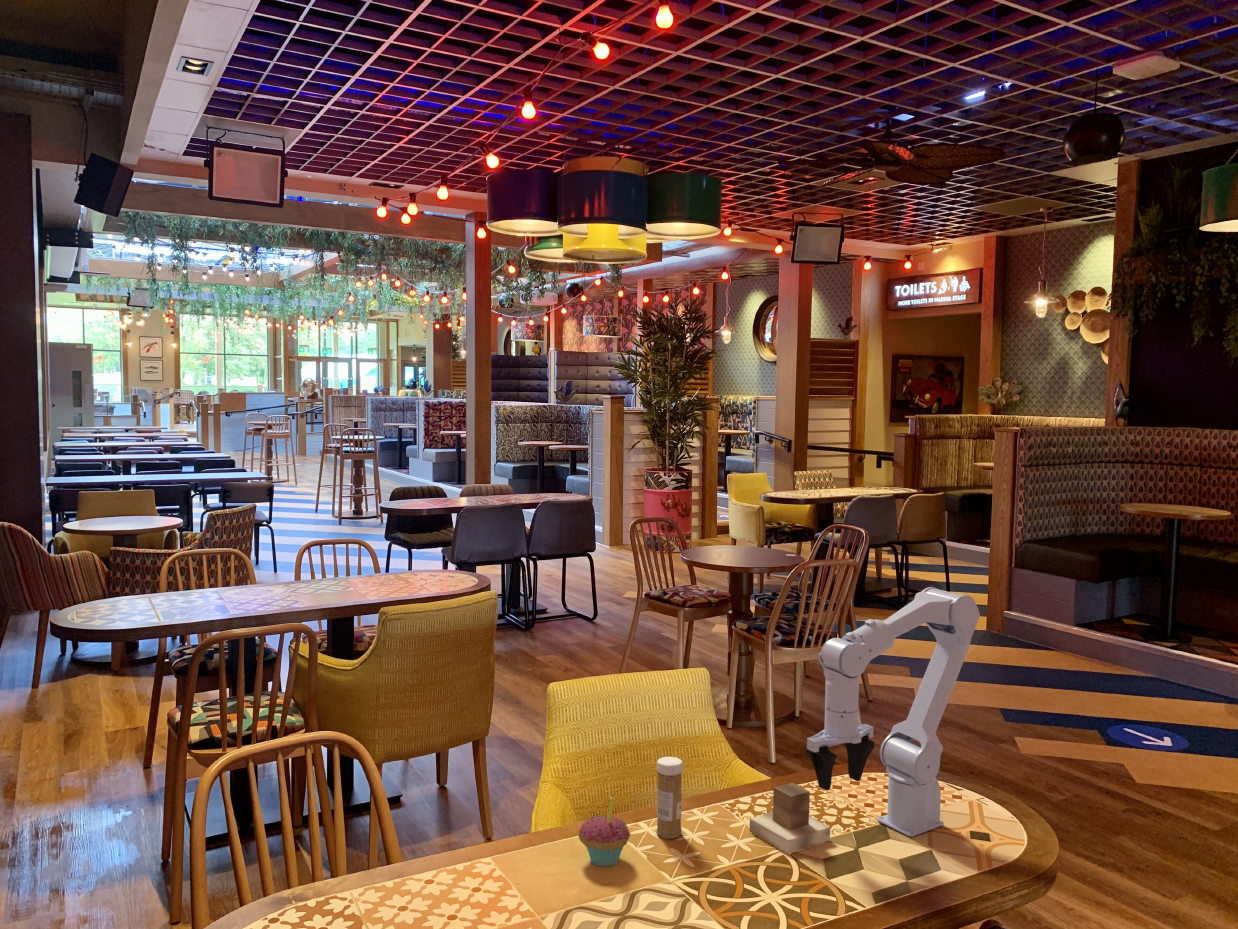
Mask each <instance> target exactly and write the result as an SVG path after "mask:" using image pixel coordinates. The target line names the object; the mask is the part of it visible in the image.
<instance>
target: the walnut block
mask: <svg viewBox="0 0 1238 929" xmlns="http://www.w3.org/2000/svg"><path fill="white" fill-rule="evenodd" d="M772 792H773V796H772V797H773V800H772V812H773V821H775V822H777V823H778V824H780V825H782V826H784V827H785V828H787V829H789V830H792V829H795V828H798V827H802V826H805V825H809V816H810V800H811V799H810V798H811V794H810V792H811V791H810V790H807V789H806V788H804V787H803V786H800V785H798V784H796V783H794V782H788V783H786V784H782V785H778V786H774V787H773V791H772Z"/></svg>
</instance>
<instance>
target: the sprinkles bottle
mask: <svg viewBox="0 0 1238 929" xmlns="http://www.w3.org/2000/svg"><path fill="white" fill-rule="evenodd" d="M683 767H684V765H683V761H682V759H680V758H679V757H676V756H675V757H674V756H663V757H660V758H659V759H657V762H656V771H657V790H656V791H657V793H656V816H657V824H656V825H657V828H656V834H657V835H658V836H659V837H660V838H663V839H668V840H671V839H676V838H679V837H681V835H682V833H683V832H682V774H683V770H684V769H683Z"/></svg>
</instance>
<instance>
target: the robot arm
mask: <svg viewBox="0 0 1238 929" xmlns="http://www.w3.org/2000/svg"><path fill="white" fill-rule="evenodd" d="M980 617H981V614H980V611H979V607H978V605H977V602H976V600H975V598H973V597H972V596H970V595H969V594H968V595H967V594H959V593H956V592H951V591H947V590H942V589H938V588H936V587H934V586H929V587H926V588H924V589H923V590H922V591H919V592H917V593H915V595H914V598H913V600H911V601H910V602H908V603H907V604H906V605H904V607H902V608H900V609H899V610H897V611H896V612H895V613H893V614H891V615H890V616H888V618H886V619H884V620H883V621H882V620H881V619H871V618H869V619H867V620H864V624H863V625H862V626H860V627H858V628H857V629H855V630H853V631H852V632H851V631H849V632H847V633H845V635H844V636H843V637H841V638H840V637H832V638H831V639H828V640H827V641H826V642H825V643H824V644H823V646H822V648H821V650H820V652H819V653H818V661H819V664H821V666H822V668H823V676H824V678H825V684H824V685H825V690H824V691H825V692H824V727H823V728H824V729H822V730H820V731H819V732H818V733H816V734H815V735H813V736H810V737H807V738H806V739H807V740H806V746H805V747H806V748H805V749H806V750H805V751H806V753H807V755H808V757H809V759H810V762H812V765H813V768H814V771H815V772H814V773H815V775H816V780H817V784H818V785H817V786H818V788H820V789H822V790H824V791H830V790H831V786H832V778H833V770H834V767H835V766H834V765H835V762H836V759H837V757H838V754H836V753H833V752H832V751H831V749H829V748H831V747H833V746H839V745H842V744H844V745H845V748H846V755H847V771H848V778H849V779H851V780H854V781H856V782H860V781H861V780H862V776H863V773H864V770H865V767H866V763H867V760H868V758H869V756H870V755H871V753H872V752H873V750H874V749H875V744H876V743H875V741H873V740H871V738H874V726H871V725H869V724H867V723H864V724H863V723H862V724H859V696H860V695H859V693H860V690H859V689H860V676H861V675H862V674H863V673H864V672H865V671H866V668H867V666H868V665H869V663H870V662H871V661H872V660H873V659H875V658H876V657H878V656H880V655H881V654H883V653H885V652H886V651H888V650H890V649H891V648H892V647H893V646H894V642H895V638H897V637H899V636H902V635H903V634H905V633H907V632H909V631H911V630H914V629H915V628H917V627H919V626H921V625H923V624H925V625H926V626H927V628H928V629H929V631H930V632H931V633H932V634H933V636H934V638H935V640H936V645H935V648H934V650H933V653H932V656H931V658H930V660H929V662H928V665H927V668H926V670H925V673H924V675H923V678H922V680H921V682H920V685H919V688H918V690H917V693H916V695H915V698H914V701H913V702H912V706H911V707H910V711H909V712H908V716H907V718H906V719H905V720H903V721H900V722H898V723H896V724H894V725H893V726H892V728H891V731H890V733H889V734H888V735H887V737H885V739H883V741H882V743H881V746H880V748H879V757H880V760H881V762H882V764H883V765H884V766H885V772H886V773H887V774H888V789H887V791H888V793H887V814H885V815H881V816H879V817H877V818H876V821H877V822H879V823H881V824H883V825H885V826H887V827H890V828H891V829H893V830H895V831H897V832H899V833H902V834H904V835H906V836H908V837H915V836H917V835H920V834H924V833H925V832H928V831H931V830H934V829H937V828H940V827H943V826H944V824H945V823H944V821H942V820H941V796H942V792H941V786H940V783H939V781H938V780H937V778H936V777H937V775H938V774H939V770H940V767H941V765H940V764H941V755H942V753H943V750H944V748H943V745H942V743H941V742H940V740H939V738H938V736H937V729H938V728H939V725H940V722H941V720H942V717H943V715H944V712H945V710H946V707H947V704H948V702H949V699H950V696H951V694H952V691H953V689H954V686H955V684H956V681H957V680H958V677H959V674H960V671H961V668H962V667H963V664H964V661H965V659H966V658H967V653H968V651H969V649H970V646H971V641H972V637H973V635H974V632H975V629H976V628H977V625H978V622H979V619H980ZM914 741H916V742H914ZM917 742H919V743H917Z"/></svg>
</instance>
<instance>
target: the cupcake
mask: <svg viewBox="0 0 1238 929" xmlns="http://www.w3.org/2000/svg"><path fill="white" fill-rule="evenodd" d="M614 794H615V793H612V796H611V797H609V798H610V799H609V804H608V805H609V806H608V811H607V815H602V814H601V815H594V816H592V817H590V818H588V819H586V821H584V823H583V822H582V824H581V826H580V828H579V831H578V839H579V841H580V842H581V843H582V844H583V846H584V847H586V850H587V853H588V856H589V858H590V859H589V860H590V861H591V863H592V864H594V865H596V866H597V867H598V866H599V867H611V866H614V865H616V864H617V863H618V862H619V861H620V856H621V853H622V851H623V849H624V847H625V846H626V845H627V843H628V840H629V839H630V836H631V834H630V831H629V826H628V825H627V824H626V822H624V821H623V820H622V819H620V818H618V817H616V816H613V809H614V802H615V798H614Z"/></svg>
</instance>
